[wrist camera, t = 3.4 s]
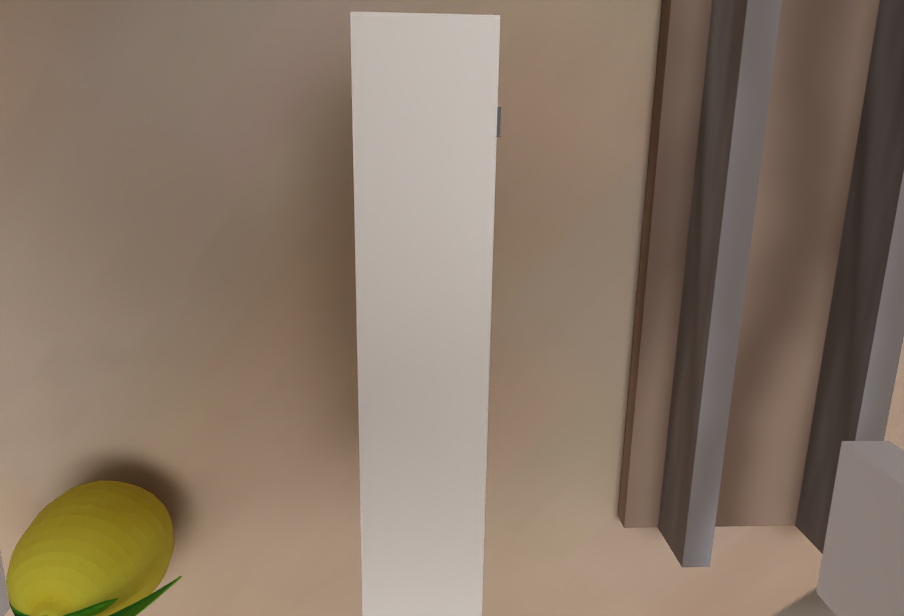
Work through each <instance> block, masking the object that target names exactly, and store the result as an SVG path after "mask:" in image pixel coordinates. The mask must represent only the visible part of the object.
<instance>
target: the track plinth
mask: <svg viewBox="0 0 904 616" xmlns="http://www.w3.org/2000/svg"><path fill="white" fill-rule="evenodd" d="M903 336H904V0H663V2H662V13H661V25H660V36H659V48H658V59H657V71H656V82H655V94H654V106H653V117H652V129H651V140H650V152H649V163H648V175H647V186H646V198H645V210H644V221H643V233H642V244H641V256H640V267H639V279H638V290H637V302H636V313H635V325H634V337H633V348H632V360H631V371H630V383H629V394H628V406H627V417H626V429H625V441H624V452H623V464H622V475H621V487H620V498H619V510H618V517H619V519H620V521H621V523H622V525H623V527H624V528H641V527H658V528H659V530H660V532H661V533H662V535H663V537H664V538H665V540H666V542H667V543H668V545H669V546H670V548H671V550H672V551H673V553H674V555H675V556H676V558H677V560H678V561H679V563H680V565H681V566H682V567H710V561H711V553H712V545H713V537H714V530H715V526H785V525H795V526H796V527H797V528H798V529H799V530H800V531H801V532H802V533H803V534H804V535H805V536H806V537H807V538H808V539H809V540H810V541H811V542H812V543H813V544H814V545H815V547H816V548H817V549H818V550H819V551H820V552H821V553H822V554H823V550H824V544H825V538H826V532H827V526H828V520H829V514H830V508H831V502H832V496H833V490H834V484H835V478H836V473H837V467H838V461H839V455H840V449H841V443H842V441H884V436H885V430H886V425H887V420H888V415H889V410H890V404H891V399H892V394H893V389H894V383H895V378H896V373H897V368H898V363H899V357H900V352H901V347H902V342H903Z"/></svg>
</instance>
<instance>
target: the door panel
mask: <svg viewBox="0 0 904 616" xmlns="http://www.w3.org/2000/svg"><path fill="white" fill-rule="evenodd" d="M350 24H351V72H352V121H353V169H354V217H355V266H356V314H357V362H358V411H359V459H360V507H361V556H362V604H363V616H482V589H483V557H484V525H485V493H486V460H487V428H488V396H489V364H490V331H491V299H492V267H493V235H494V202H495V170H496V138H497V137H500V117H501V107H497V106H498V73H499V41H500V15H474V14H434V13H393V12H353V11H350Z"/></svg>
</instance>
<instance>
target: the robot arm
mask: <svg viewBox="0 0 904 616" xmlns="http://www.w3.org/2000/svg"><path fill="white" fill-rule="evenodd" d="M816 593H817V594H818V595H819V596H820V597H821V598H822V600H823V601H824V602H825V603H826V604H827V605H828V606H829V607H830V609H831V610H832V611H833V612H834V613H835V614H836V616H904V450H902V449H900V448H899V447H897V446H896V445H894V444H893V443H891V442H890V441H842V443H841V449H840V455H839V461H838V467H837V473H836V478H835V484H834V490H833V496H832V502H831V508H830V514H829V520H828V526H827V532H826V538H825V544H824V550H823V555H822V561H821V567H820V573H819V579H818V585H817V592H816ZM9 609H10V605H9V599H8V594H7V588H6V582H5V576H4V570H3V564H2V558H1V552H0V616H4V615H5V613H6V612H7V611H8V610H9Z"/></svg>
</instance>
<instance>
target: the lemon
mask: <svg viewBox="0 0 904 616" xmlns="http://www.w3.org/2000/svg"><path fill="white" fill-rule="evenodd" d="M173 549H174V534H173V525H172V520H171V518H170V516H169V513H168V511H167V509H166V507H165V505H164V504H163V503H162V502H161V501H160V500H159V499H158V498H157V497H156V496H155V495H154V494H152V493H150V492H148V491H146V490H144V489H143V488H141V487H139V486H136V485H132V484H128V483H124V482H120V481H105V480H102V481H95V482H90V483H86V484H82V485H78V486H76V487H74V488H71V489H70V490H68V491H67V492H65V493H64V494H62V495H61V496H59V497H58V498H57V499H55V500H54V501H52V502H51V503H50V504H48V505H47V506H46V507H45V508H44V509H43V510H42V511H41V512H40V513H39V514H38V516H37V517H36V518H35V519H34V521H33V522H32V523H31V525H30V526H29V527H28V529H27V530H26V531H25V533H24V534H23V535H22V537H21V538H20V540H19V542H18V543H17V545H16V547H15V549H14V551H13V554H12V556H11V560H10V564H9V568H8V572H7V579H6V585H7V592H8V598H9V604H10V607H11V609H12V611H13V613H14V615H15V616H136V615H137V614H139V613H140V612H141V611H143V610H144V609H145V608H146V607H148V606H149V605H150V604H151V603H152V602H154V601H155V600H156V599H157V598H158V597H159V596H160V595H162V594H163V593H164V592H165V591H166V590H167V589H168V588H170V587H171V586H172V585H173V584H174V583H176V582H177V581H178V580H179V579H180V578H181V577H182V576H180V577H179V578H177V579H176V580H174V581H172V582H171V583H169V584H167V585H166V586H164V587H162V588H161V589H159V590H157V591H156V592H154V593H152V592H153V591H154V590H155V589H156V588H157V586H158V585H159V584H160V582H161V581H162V579H163V577H164V576H165V573H166V571H167V568H168V566H169V562H170V559H171V556H172V553H173Z"/></svg>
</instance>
